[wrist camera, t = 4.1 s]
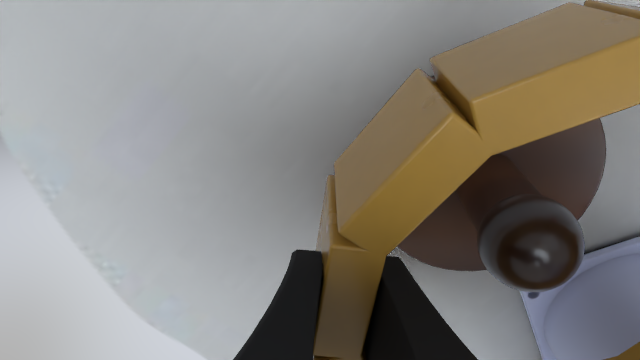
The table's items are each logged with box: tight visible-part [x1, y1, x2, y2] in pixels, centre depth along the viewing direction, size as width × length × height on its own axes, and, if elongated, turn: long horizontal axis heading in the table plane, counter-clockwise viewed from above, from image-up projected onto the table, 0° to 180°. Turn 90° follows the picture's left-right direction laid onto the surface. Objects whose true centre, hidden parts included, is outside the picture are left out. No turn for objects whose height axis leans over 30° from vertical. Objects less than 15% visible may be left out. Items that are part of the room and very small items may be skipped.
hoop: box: [313, 0, 640, 360], centre depth 12 cm, size 13×13×3 cm
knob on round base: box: [398, 76, 606, 292], centre depth 15 cm, size 9×9×6 cm
